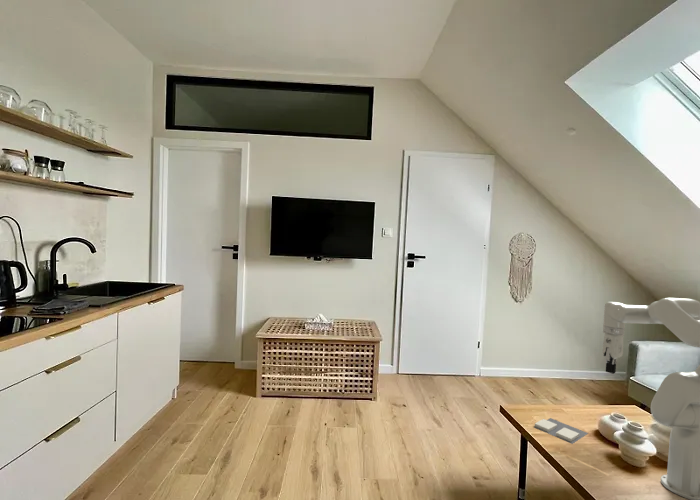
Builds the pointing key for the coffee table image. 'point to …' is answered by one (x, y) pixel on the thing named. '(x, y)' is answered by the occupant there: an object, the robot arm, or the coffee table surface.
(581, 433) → the mat
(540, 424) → the tile
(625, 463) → the coffee table surface
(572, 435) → the tile
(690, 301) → the robot arm
